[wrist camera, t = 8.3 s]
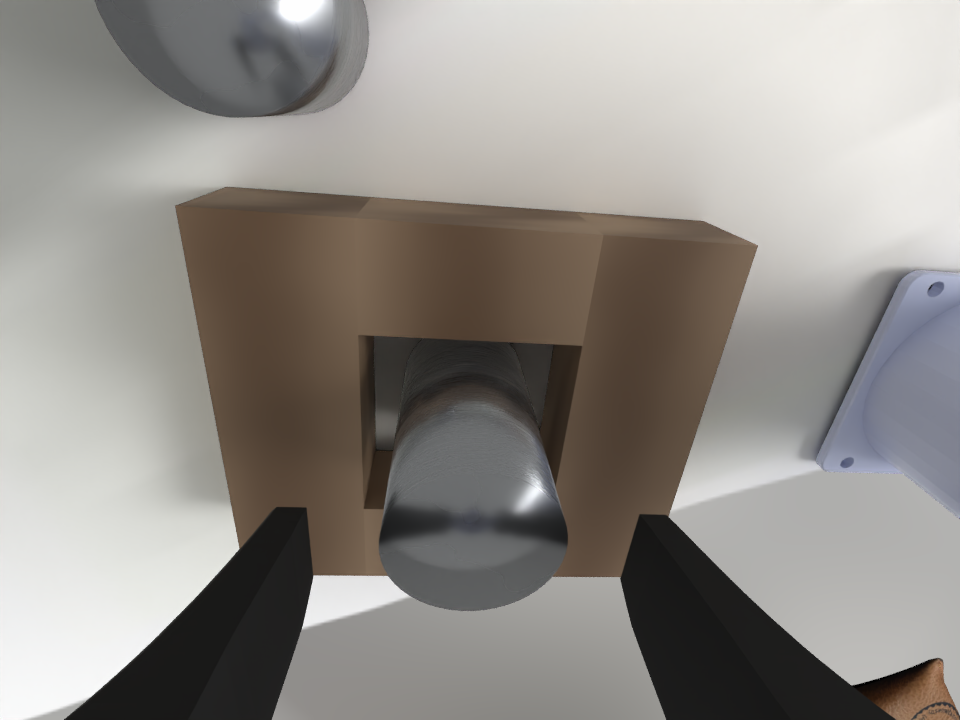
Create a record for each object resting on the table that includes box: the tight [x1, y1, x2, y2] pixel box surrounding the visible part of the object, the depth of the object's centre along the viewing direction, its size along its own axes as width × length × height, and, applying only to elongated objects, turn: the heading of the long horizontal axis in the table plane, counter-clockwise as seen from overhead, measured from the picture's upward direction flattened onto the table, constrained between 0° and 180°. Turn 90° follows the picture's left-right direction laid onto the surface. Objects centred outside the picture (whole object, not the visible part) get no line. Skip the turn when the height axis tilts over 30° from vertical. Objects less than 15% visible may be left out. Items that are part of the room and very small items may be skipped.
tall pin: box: [379, 338, 568, 611], centre depth 14 cm, size 4×4×8 cm
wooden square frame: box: [175, 187, 758, 577], centre depth 16 cm, size 14×12×3 cm
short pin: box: [95, 0, 369, 117], centre depth 10 cm, size 4×4×4 cm
